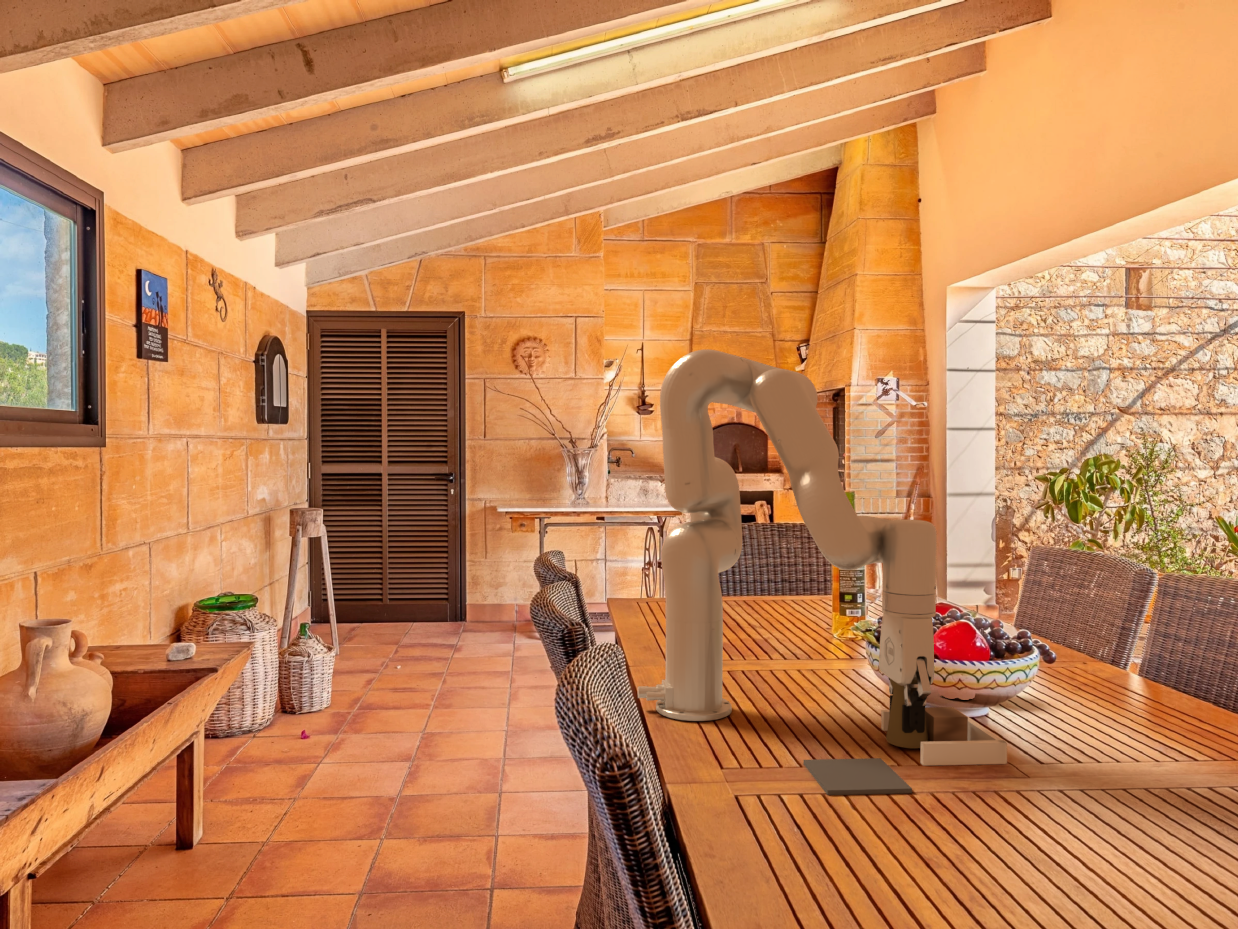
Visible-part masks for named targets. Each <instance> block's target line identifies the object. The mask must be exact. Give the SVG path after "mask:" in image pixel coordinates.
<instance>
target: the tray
mask: <svg viewBox="0 0 1238 929" xmlns="http://www.w3.org/2000/svg"><path fill="white" fill-rule="evenodd" d="M957 710H958V709H957ZM958 711H960V710H958ZM960 712H961V711H960ZM961 713H963V712H961ZM963 714H964V715H965V716H967V717H968V737H967V741H930V742H921V748H920V755H919V756H920V758H919V759H920V760H919V761H920V764H921V765H922V766H961V765H962V766H964V765H965V766H966V765H969V766H971V765H1007V764H1008V742H1007V741H1006V740H1004V739H1002V738H1001V737H1000V736H998V735H996V734H995V733H993V732H992V731H990V730H989V729H988V728H986V727H984V726H983V725H981V724H979V723H978V722H977V721H975V720H974V719H972V718H971V717H969V716H968V715H967V714H965V713H963ZM889 716H890V709H881V717H880V718H881V721H880V726H881V727H880V729H881V730H882V731H884V732H887V729H888V723H889Z"/></svg>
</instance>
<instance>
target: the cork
mask: <svg viewBox="0 0 1238 929" xmlns="http://www.w3.org/2000/svg"><path fill="white" fill-rule="evenodd" d="M890 683H891V685H892V687H893V688H894V690H893V694H892V695H893V697H892V703H891V710H890V709H889V710H890V716H889V723H888V729H887V731H886V737H885V740H886V742H887V743H889V744H890V745H894V746H896V747H899V748H905V749H921V742H928V734H927V725H926V717H925V731H924V732H923V733H917V731H916V729H915V730H914V731H913V732H912V733H904V732H903V731H902V705H905V696H904V686H901V685H899V684H897V683H896V682H894V681H893V680H892V679H890V680H889V684H890ZM910 684H918V682H917V680H912V681H911V683H910ZM916 690H917V688H911V694H912V693H913V691H916Z"/></svg>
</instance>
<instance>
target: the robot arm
mask: <svg viewBox="0 0 1238 929" xmlns="http://www.w3.org/2000/svg"><path fill="white" fill-rule="evenodd" d="M711 403H715V404H722V405H723V404H724V405H727V406H732V407H736V408H738V409H739V408H740V409H742V410H745V411H749V412H752V413H755V414H756V416H757V418H758V419H759V422H760V424H761V425H762V427H763V429H764V430H765V433H766V434H767V435H768V438H769V440H770V441H771V444H772V445H773V447H774V448H775V451H776V452H777V454H778V456H779V458H780V460H781V462H782V463H783V465H784V468H785V469H786V471H787V474H788V476H789V477H788V478H789V482H790V487H791V490H792V493H793V497H794V499H795V500H794V501H795V502H796V506H797V509H798V512H799V513H800V516H801V518H802V521H803V522H804V524H805V526H806V528H807V530H808V532H809V533H810V536H811V537H812V539H813V541H814V542H815V545H816V546H817V548H818V550H819V552H820V553H821V554H822V556H823V557H824V558H825V560H827V561H828V563H829V564H831V565H832V566H834V567H836V569H837V568H838V569H840V570H843V571H853V570H857V569H861V568H862V567H864V566H867V565H871V564H879V563H880V564H882V585H881V586H882V588H881V589H882V590H881V599H882V600H881V613H882V618H881V625H880V626H881V627H880V638H879V651H878V652H879V654H878V655H879V656H878V668H879V670H880V672H881V673H882V674H883V675H885V677H887V679H888V680H889V681H890V679H892V680H893V681H894V682H896V683H897V684H899V685H901V686H904V696H905V705H902V731H903V732H904V733H912V732H913V731H914V730H915V729H916V731H917V733H923V732H924V731H925V707H927V698H928V697H929V696H930V695H931V694H932V689H931V688H932V687H931V685H932V684H933V683H934V678H935V666H934V644H935V637H934V636H935V635H934V626H933V625H934V624H933V617H935V616H936V613H937V612H936V605H937V604H936V596H937V550H938V548H937V546H938V545H937V544H938V543H937V534H938V533H937V529H936V526H935V525H934V523H932V522H930V521H927V520H922V519H886V518H882V517H881V518H879V517H875V516H869V515H858V514H857V513H856V511H855V509H854V507H853V505H852V503H851V502H850V500H849V498H848V496H847V494H846V492H845V489H844V487H843V485H842V482H841V478H840V474H839V458H840V456H839V455H840V454H839V449H838V446H837V445H838V444H836V441H835V439H834V438H833V436H832V434H831V433H830V431H829V430H828V428H827V426H826V424H825V422H824V420H823V418H822V417H821V415H820V414H819V411H818V410H817V404H818V392H817V389H816V387H815V385H814V383H813V381H812V380H811V379H810V378H809V377H807V375H804V374H803V373H801V372H798V371H794V370H789V369H785V368H780V367H776V366H773V365H770V364H769V365H768V364H765V363H763V362H759V361H755V360H752V359H749V358H746V357H742V356H738V355H736V354H735V355H734V354H731V353H727V352H724V351H720V350H715V349H709V348H708V349H698V350H694V351H691V352H689V353H687V354H685V355H684V356H682V357H680V358H679V359H678V360H677V361H676V362H675V363H673V365H672V366H670V367H669V370H668V371H667V372H666V374H665V377H664V378H663V381H662V384H661V389H660V394H659V410H660V411H659V412H660V421H661V431H662V454H663V456H662V457H663V459H662V460H663V473H664V474H663V475H664V476H663V478H664V490H665V496H666V499H667V501H668V504H670V506H671V507H672V508H673V510H676V511H678V512H680V513H684V514H690V517H689V518H690V521H687V522H684V523H681V524H678V525H677V526H676V527H674V528H672V530H670V531H669V532H668V533H667V534H666V536H665V538H664V540H663V543H662V547H661V550H660V552H661V554H660V560H661V568H662V574H663V582H664V591H665V679H661V683H660V684H659V683H658V684H656V685H655V686H648V685H645V686H643V685H641V686H640V685H639V686H637V699H646V701H656V703H655V710H656V712H657V713H659V714H660V715H661V716H664V717H666V718H668V719H669V718H670V719H675V720H679V721H685V722H686V721H687V722H706V721H707V722H708V721H715V720H720V719H723V718H725V717H728V716H729V715H730V714H731V713H732V703H731V702H730V701H728V700H727V699H725V698H723V672H724V671H723V669H724V668H723V664H724V662H723V661H724V660H723V657H724V655H723V653H724V652H723V651H724V649H723V646H724V639H723V638H724V630H723V629H724V626H723V625H724V617H723V616H724V615H723V614H724V612H723V611H724V608H723V607H724V606H723V594H722V588H721V583H720V578H719V574H721V573H723V572H725V571H727V570H730V569H731V568H732V567H733V566H734V565H735V564H736V563H737V562H738V561H739V559H740V557H741V554H742V550H743V526H742V525H743V524H742V523H743V522H742V512H741V511H742V510H741V509H742V506H741V496H740V495H741V493H740V485H739V480H738V477H737V475H736V473H735V470H734V469H733V468H732V466H731V465H730V464H729V463H728V462H727V461H726V460H724V459H722V458H719V457H716V456H715V447H714V429H713V425H712V421H711V418H710V415H709V405H710V404H711ZM912 680H917V682H918V684H910V683H911V681H912ZM911 688H917V690H916V691H913V693H912V694H911ZM893 690H894V688H893V687H892V685H891V683H890V682H889V686H888V691H889V692H888V693H889V710H891V703H892V697H893Z"/></svg>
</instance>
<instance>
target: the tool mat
mask: <svg viewBox="0 0 1238 929" xmlns="http://www.w3.org/2000/svg"><path fill="white" fill-rule="evenodd" d="M803 765H804V767H805V768H806V770H807V771H808V772H809V774H811V776H812V777H813V779H814V780H815V781H816V783H818V785H819V786H820V787H821V789H822V790H823V791H824V792H825V794H826V795H827V796H843V795H844V796H846V795H848V796H849V795H852V796H853V795H884V794H885V795H886V794H887V795H888V794H889V795H890V794H893V795H894V794H913V788H912V786H910V785H909V784H908V783H907V781H905V780H904V779H903V778H902V777H901V776H900V775H899V773H897V772H895V770H894V769H893V768H892V767H891V766H889V765H888V764H887V763H886V762H885V761H884V760H883V759H882V758H881V757H878V758H877V757H876V758H875V757H874V758H872V757H871V758H869V757H868V758H826V759H822V758H821V759H803Z"/></svg>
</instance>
